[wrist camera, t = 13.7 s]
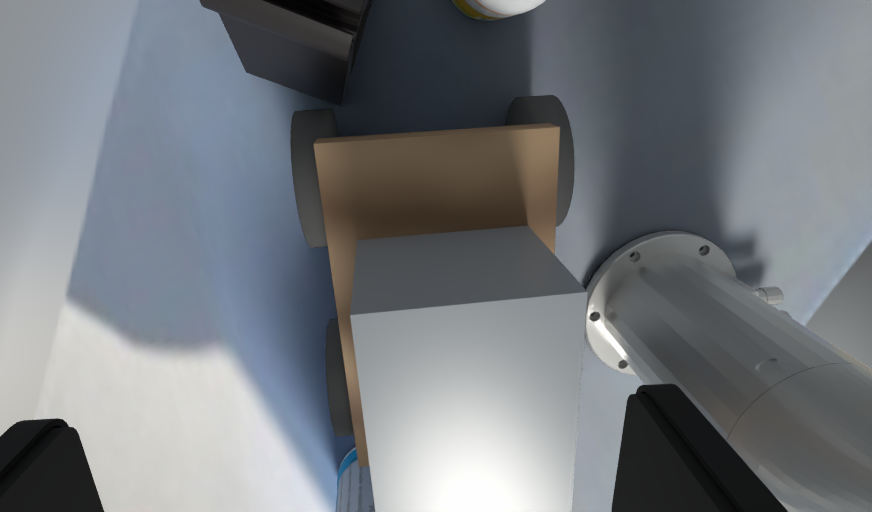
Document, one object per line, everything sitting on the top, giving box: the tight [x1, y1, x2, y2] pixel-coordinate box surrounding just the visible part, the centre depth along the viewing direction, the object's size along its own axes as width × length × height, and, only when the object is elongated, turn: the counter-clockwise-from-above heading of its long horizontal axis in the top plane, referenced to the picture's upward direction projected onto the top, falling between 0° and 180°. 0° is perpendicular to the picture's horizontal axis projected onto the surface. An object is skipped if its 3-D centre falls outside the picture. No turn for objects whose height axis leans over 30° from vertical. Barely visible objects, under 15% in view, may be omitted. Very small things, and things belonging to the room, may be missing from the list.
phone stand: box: [200, 0, 372, 106], centre depth 25 cm, size 9×6×12 cm, turn 159°
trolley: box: [291, 95, 588, 512], centre depth 29 cm, size 22×15×18 cm
